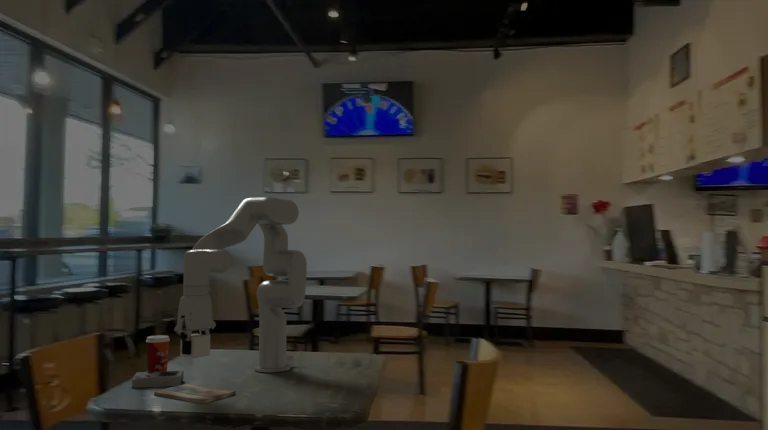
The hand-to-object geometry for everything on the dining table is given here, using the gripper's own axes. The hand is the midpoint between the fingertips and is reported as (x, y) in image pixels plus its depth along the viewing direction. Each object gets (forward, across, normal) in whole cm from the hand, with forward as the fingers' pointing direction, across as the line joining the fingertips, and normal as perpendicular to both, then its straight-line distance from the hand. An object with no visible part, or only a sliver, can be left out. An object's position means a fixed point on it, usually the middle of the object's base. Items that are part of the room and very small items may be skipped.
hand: (195, 352), depth 190 cm
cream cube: (+1, 0, 0) cm, 1 cm away
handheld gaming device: (+13, -4, -21) cm, 25 cm away
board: (+13, 0, 0) cm, 13 cm away
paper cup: (+13, -9, -27) cm, 31 cm away
